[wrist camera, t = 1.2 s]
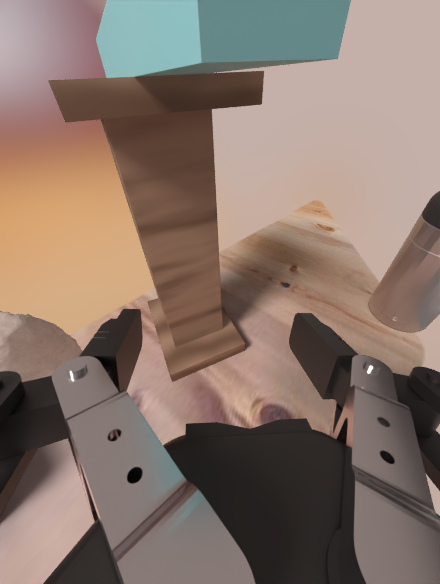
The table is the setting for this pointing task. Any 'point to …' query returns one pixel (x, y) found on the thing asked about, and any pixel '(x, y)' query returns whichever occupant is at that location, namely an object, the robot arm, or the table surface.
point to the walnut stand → (171, 194)
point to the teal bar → (216, 35)
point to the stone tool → (33, 346)
